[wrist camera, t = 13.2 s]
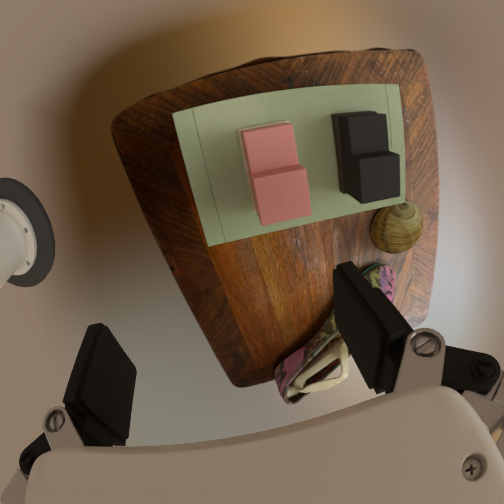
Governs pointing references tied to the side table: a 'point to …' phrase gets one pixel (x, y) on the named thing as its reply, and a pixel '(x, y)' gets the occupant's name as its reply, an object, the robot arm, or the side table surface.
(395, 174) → the black stepped block
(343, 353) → the ballet flat
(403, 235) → the seashell
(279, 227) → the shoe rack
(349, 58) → the side table surface
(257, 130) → the pink stepped block
